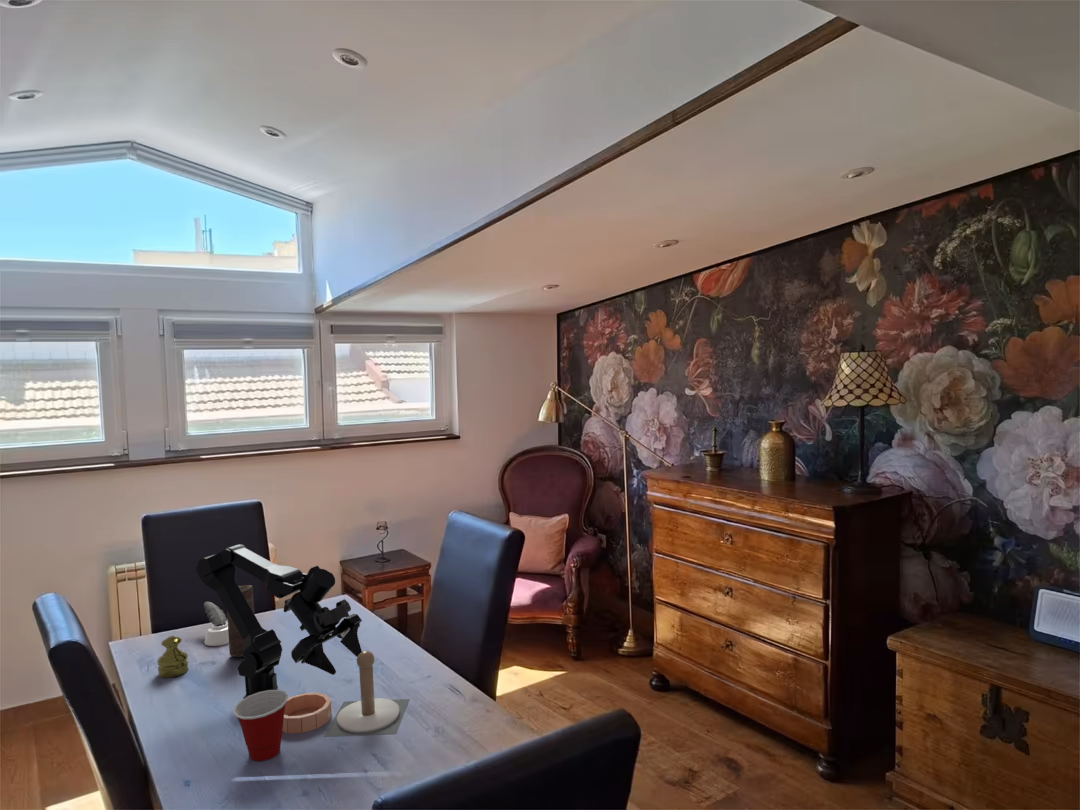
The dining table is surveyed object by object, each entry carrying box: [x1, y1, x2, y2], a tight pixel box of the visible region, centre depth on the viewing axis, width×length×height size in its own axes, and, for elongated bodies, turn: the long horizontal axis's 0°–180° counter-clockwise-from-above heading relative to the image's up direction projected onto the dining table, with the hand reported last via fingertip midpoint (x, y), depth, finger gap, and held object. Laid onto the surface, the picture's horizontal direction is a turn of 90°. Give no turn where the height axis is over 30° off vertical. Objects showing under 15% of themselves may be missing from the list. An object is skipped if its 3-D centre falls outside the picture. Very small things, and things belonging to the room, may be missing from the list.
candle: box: [226, 584, 256, 658], centre depth 200 cm, size 8×7×20 cm
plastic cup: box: [232, 689, 289, 762], centre depth 146 cm, size 11×11×12 cm
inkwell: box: [203, 601, 229, 647], centre depth 215 cm, size 9×18×10 cm, turn 47°
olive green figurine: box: [156, 635, 189, 679], centre depth 190 cm, size 7×7×10 cm
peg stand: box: [337, 650, 399, 733], centre depth 160 cm, size 14×14×16 cm
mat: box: [323, 698, 410, 738], centre depth 161 cm, size 16×16×1 cm
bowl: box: [282, 692, 333, 734], centre depth 161 cm, size 12×12×4 cm
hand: (348, 665), depth 162 cm, fingers open, 9 cm apart
